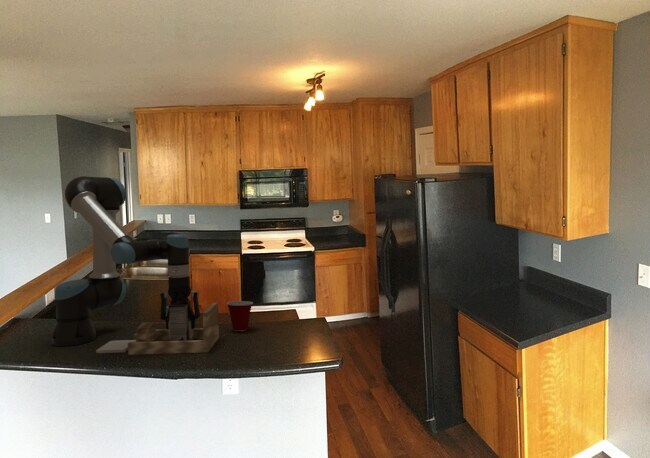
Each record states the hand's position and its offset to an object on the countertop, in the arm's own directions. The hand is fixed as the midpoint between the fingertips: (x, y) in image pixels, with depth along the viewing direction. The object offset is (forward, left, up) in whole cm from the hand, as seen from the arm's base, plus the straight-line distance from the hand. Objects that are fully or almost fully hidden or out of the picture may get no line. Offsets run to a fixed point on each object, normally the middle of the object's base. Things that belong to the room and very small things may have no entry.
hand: (181, 337), depth 167 cm
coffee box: (0, 0, -3) cm, 3 cm away
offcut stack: (-13, 0, -3) cm, 13 cm away
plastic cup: (+19, +19, -3) cm, 27 cm away
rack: (-2, 0, -3) cm, 4 cm away
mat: (-24, 0, -3) cm, 24 cm away
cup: (-9, +24, -3) cm, 26 cm away
